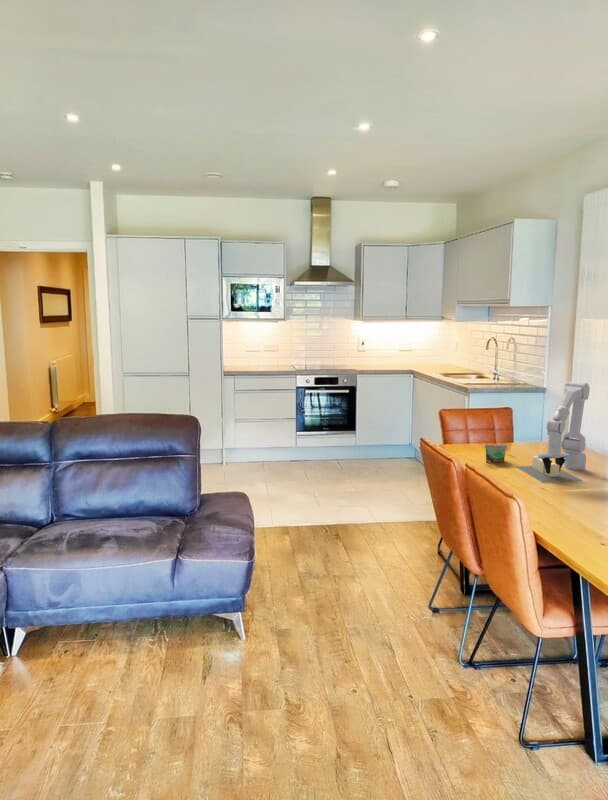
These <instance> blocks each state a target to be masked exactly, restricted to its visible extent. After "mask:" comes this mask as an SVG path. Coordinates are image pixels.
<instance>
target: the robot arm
mask: <svg viewBox="0 0 608 800" xmlns="http://www.w3.org/2000/svg"><path fill="white" fill-rule="evenodd" d="M563 389H564V397H563V399H562V403H561V405H560V407H557V409H556V410H555V412H554V415H553V417H552V419H551V420H548V422H547V423H546V430H547V436H548V438H547V439H548V440H547V452H545V453H538V454H537V456H538V458H539V459H542V461H543V463H544V466H545V470H546V473H548V474H549V473H550V466H551V463H552V462H553V461H552V460H551V459H554V463H555V464H558V465H560V467H559V472H560V469H561V470H562V466H563V468H564V469H567V470H572V471H574V470H575V471H576V470H582V471H583V472H586V471H587V469H586V463H587V455H586V453H585V452H584V451H585V449H586V437H585V436H584V435H583V434H582V433H581V428H582V421H583V415H584V407H585V402H586V401H587V400H588V399H589V397H590V384H589V383H588V382H577V381H569V380H567V382H566V383H565V384H564V387H563ZM571 406H572V409H571V415H570V408H571ZM569 416H570V423H569V430H568V432H567V433H565V434H563V433H564V432H565V429H566V424H567V422H566V421H567V419H568V417H569ZM562 450H563V452H562Z"/></svg>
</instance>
